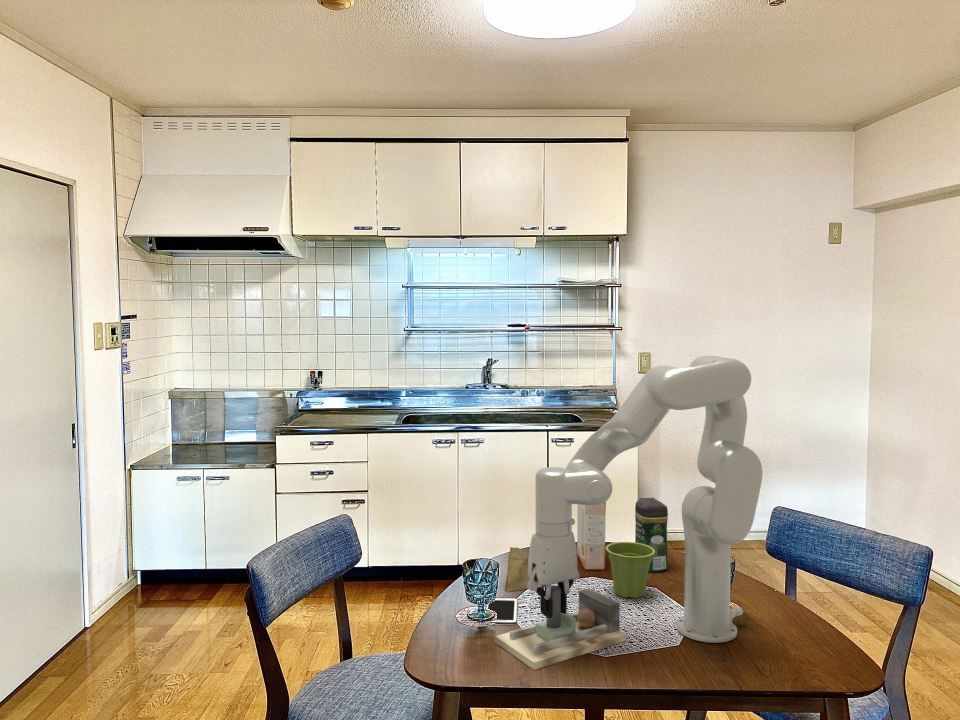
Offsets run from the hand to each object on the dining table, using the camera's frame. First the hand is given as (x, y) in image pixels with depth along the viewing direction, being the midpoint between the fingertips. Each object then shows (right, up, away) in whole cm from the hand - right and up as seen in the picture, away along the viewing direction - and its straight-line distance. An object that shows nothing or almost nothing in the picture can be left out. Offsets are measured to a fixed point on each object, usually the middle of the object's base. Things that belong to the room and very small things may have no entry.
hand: (553, 612), depth 155 cm
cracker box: (+15, -3, +51) cm, 53 cm away
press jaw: (0, -5, +1) cm, 5 cm away
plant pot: (+22, -5, +28) cm, 36 cm away
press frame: (+2, -7, +1) cm, 7 cm away
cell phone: (-11, -6, +17) cm, 21 cm away
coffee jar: (+31, -4, +47) cm, 56 cm away
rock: (-4, -5, +33) cm, 34 cm away
